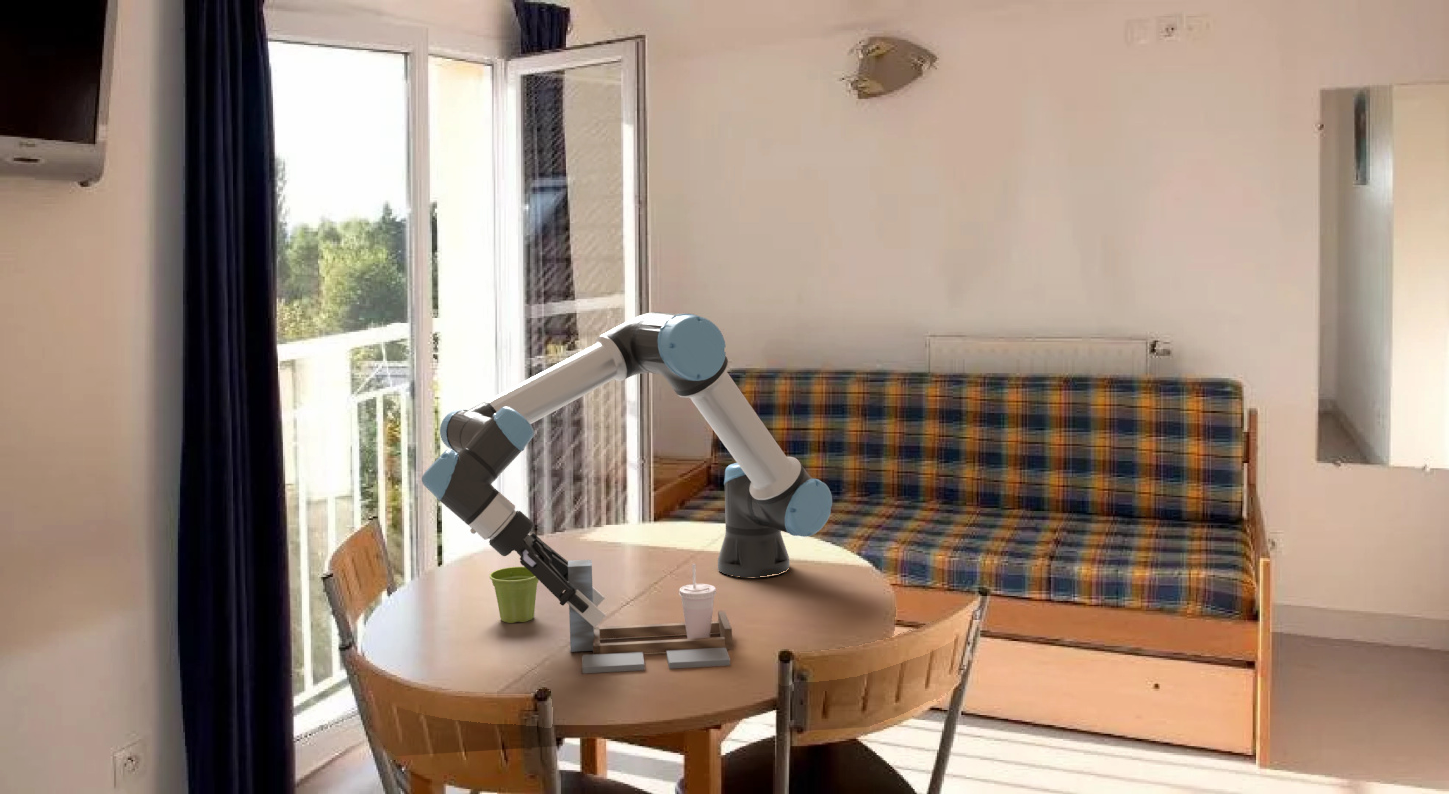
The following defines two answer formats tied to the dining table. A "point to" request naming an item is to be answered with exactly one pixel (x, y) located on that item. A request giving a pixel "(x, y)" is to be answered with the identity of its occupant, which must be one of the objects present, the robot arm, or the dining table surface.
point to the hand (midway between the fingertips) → (599, 612)
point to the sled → (633, 626)
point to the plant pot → (515, 593)
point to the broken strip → (636, 660)
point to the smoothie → (697, 607)
